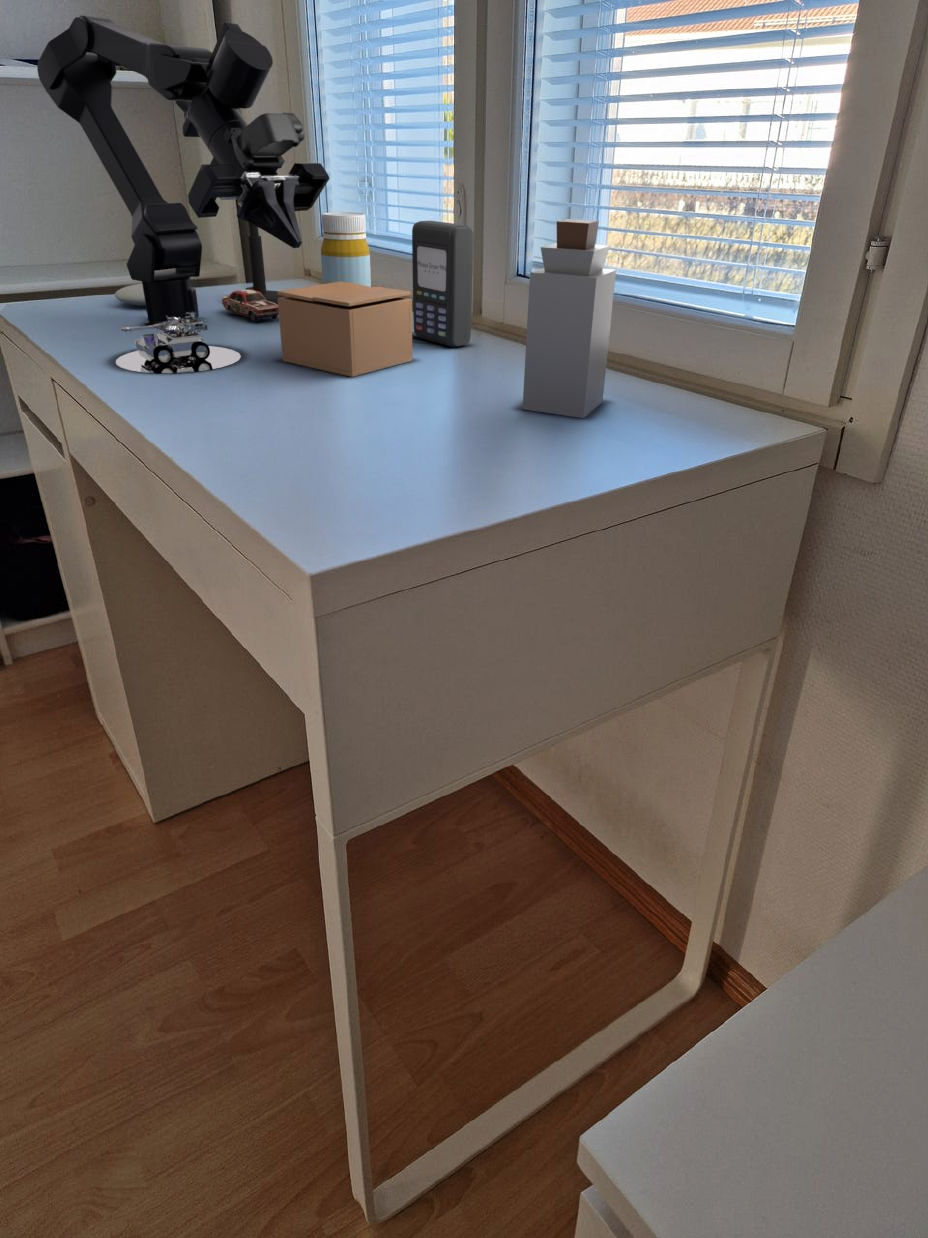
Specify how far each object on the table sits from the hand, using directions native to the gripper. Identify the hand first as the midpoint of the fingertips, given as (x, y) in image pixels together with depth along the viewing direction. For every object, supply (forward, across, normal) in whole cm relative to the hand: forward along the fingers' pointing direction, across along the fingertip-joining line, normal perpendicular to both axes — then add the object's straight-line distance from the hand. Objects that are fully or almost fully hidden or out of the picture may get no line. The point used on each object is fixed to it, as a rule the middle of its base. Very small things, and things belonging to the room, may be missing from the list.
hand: (298, 245), depth 103 cm
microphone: (-18, +23, +37) cm, 47 cm away
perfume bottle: (+36, +1, -19) cm, 41 cm away
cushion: (-21, +8, +40) cm, 46 cm away
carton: (+14, 0, +4) cm, 15 cm away
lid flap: (+7, 0, 0) cm, 7 cm away
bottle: (+3, +17, +15) cm, 23 cm away
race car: (-7, +11, +26) cm, 29 cm away
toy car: (+3, -13, +16) cm, 21 cm away
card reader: (+16, +17, +2) cm, 23 cm away
